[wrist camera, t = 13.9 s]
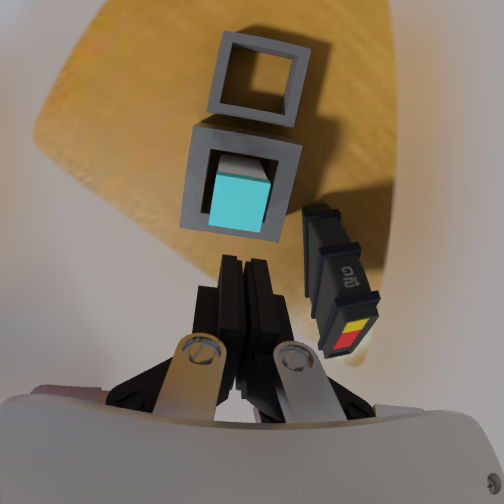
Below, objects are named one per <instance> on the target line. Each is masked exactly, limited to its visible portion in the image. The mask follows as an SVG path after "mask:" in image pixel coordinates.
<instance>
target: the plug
mask: <svg viewBox="0 0 504 504" xmlns="http://www.w3.org/2000/svg"><path fill="white" fill-rule="evenodd" d="M270 185H271V183H270V181H269V180H268V179H267V177H266V174H265V172H264V170H263V168H262V165H261V163H260V161H259V160H253V159H248V158H242V157H236V156H230V155H223V154H221V156H220V161H219V167H218V171H217V174H216V180H215V186H214V192H213V198H212V205H211V211H210V218H209V225H212V226H219V227H226V228H232V229H239V230H246V231H252V232H259V233H260V229H261V224H262V220H263V216H264V211H265V207H266V202H267V198H268V194H269V189H270Z"/></svg>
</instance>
